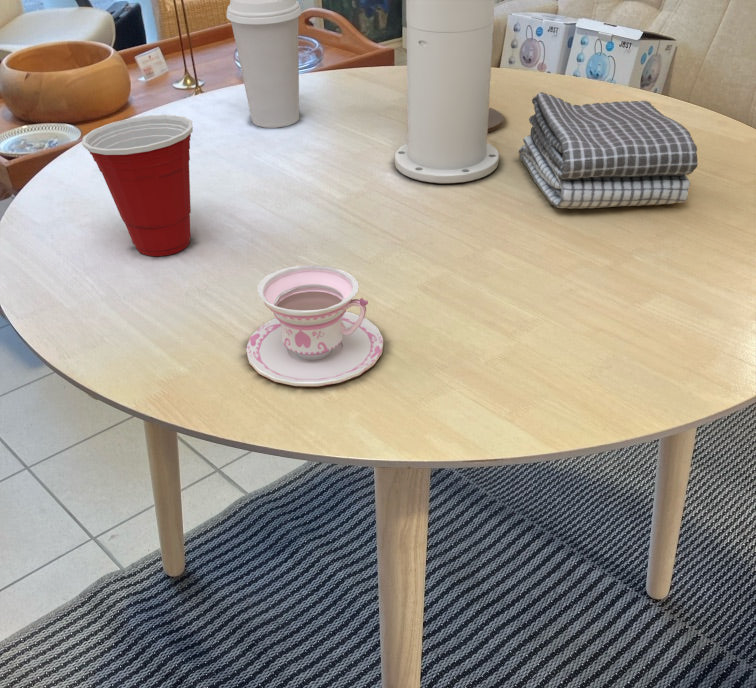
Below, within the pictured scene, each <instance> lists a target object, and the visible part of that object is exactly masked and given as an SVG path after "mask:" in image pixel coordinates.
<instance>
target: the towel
mask: <svg viewBox="0 0 756 688" xmlns="http://www.w3.org/2000/svg"><path fill="white" fill-rule="evenodd" d="M531 103H532V104H533V106H534V107H533V108H534V109H533V110H534V114H533V115H531V116H529V118H528V121H529V124H530V125H531V128H530V134H529V135H527V136H525V137H524V138H523V139H522V141H523V143H524V144H523V145H522V146H521V147H520V148H519V149H518V155H519V160H520V162H522V164H523V165H524V166H525V168H526V169H527V170H528V172H529V174H530V176H531V177H532V179H533V181H534V183H535V184H536V186H538V188H539V190H540V191H541V192H542V195H544V197H545V198H546V199H547V201H548V202H549V204H550V205H552V206H553V207H555V208H557V209H595V208H596V209H600V208H612V207H634V206H635V207H640V206H653V205H654V206H660V205H672V204H673V205H674V204H680V203H686V202H687V201H688V199H689V189H690V185H691V182H690V179H689V178H688V177H687V175H691V174H692V173H694V171H695V170H696V169H697V168H698V164H699V163H698V159H699V158H698V153H697V151H698V148H697V145H696V143H695V140H694V139H693V137H692V135H691V133H690V131H689V130H688V129H687V128H686V127H685V126H684V125H682V124H681V123H680V122H678V121H676V119H673V118H670V117H668V116H666V115H664V114H663V113H661V112H660V111H659V110H658V109H657V108H655V107H654V105H652V103H651V102H649V101H648V100H640V101H639V100H631V101H628V100H627V101H626V100H625V101H624V100H622V101H612V102H607V101H606V102H601V103H600V102H595V103H594V102H593V103H586V104H581V105H579V104H571V103H570V102H567V101H564V99H562V98H560V97H555V96H554V95H552V94H547V93H545V92H542V91H540V92H538V93H537V94H536V95H535V96H534V97H533V98H532V99H531Z"/></svg>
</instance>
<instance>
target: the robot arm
mask: <svg viewBox="0 0 756 688" xmlns="http://www.w3.org/2000/svg"><path fill="white" fill-rule="evenodd" d="M405 15H406V16H405V19H406V20H405V22H406V114H407V115H406V117H407V118H406V122H407V123H406V124H407V125H406V127H407V130H406V131H407V133H406V134H407V139H406V140H407V142H406V143H404V144H403V145H401V146H400V147H398V149H397V150H396V151H395V154H394V166H395V168H396V169H397V170H398V172H400V173H401V174H402V175H404V176H405V177H408V178H410V179H413V180H416V181H420V182H425V183H431V184H432V183H433V184H458V183H460V184H461V183H467V182H471V181H476V180H479V179H481V178H484V177H486V176H488V175H490V174H491V173H494V171H495V170H496V169H497V168H498V167H499V163H500V153H499V151H498V150H497V148H496V147H495V146H494V145H492V144H491V143H489V142H488V133H487V132H488V114H489V108H490V95H491V79H492V77H491V76H492V61H493V60H492V58H493V57H492V56H493V44H494V43H493V39H494V25H495V24H494V23H495V19H494V18H495V0H405Z"/></svg>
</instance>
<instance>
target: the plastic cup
mask: <svg viewBox="0 0 756 688" xmlns="http://www.w3.org/2000/svg"><path fill="white" fill-rule="evenodd" d="M193 125H194V124H193V120H191V119H190V118H187V117H185V116H182V115H174V114H154V115H153V114H151V115H143V116H137V117H130V118H127V119H122V120H118V121H113V122H110V123H107V124H104V125H102V126H100V127H97V128H94V129H92V130H91V131H89V132H88V133H86V134H85V135H83V137H82V140H81V145H82V146H83V148H84V149H86V150H87V151H88V153H89V154H90V155H91V156H92V158H93V161H94V162H95V163H96V166H97V168H98V169H99V172H100V173H101V174H102V177H103V179H104V181H105V183H106V186H107V188H108V190H109V192H110V195H111V197H112V199H113V202H114V205H115V206H116V208H117V211H118V214H119V215H120V217H121V220H122V221H123V223H124V225H125V227H126V230H127V232H128V235H129V237H130V239H131V242H132V244H133V245H134V247H135V249H136V250H137V251H138V252H139V253H140V254H142V255H145V256H148V257H164V256H171V255H174V254H178V253H180V252H181V251H183V250H185V249H186V248H187V247H188V246H189V245H190V243H191V239H190V238H191V213H192V212H191V210H192V209H191V182H190V180H191V179H190V160H191V158H190V157H191V155H190V150H191V142H190V141H191V136H192V134H193V130H194V129H193V128H194V126H193Z"/></svg>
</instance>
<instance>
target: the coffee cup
mask: <svg viewBox="0 0 756 688" xmlns="http://www.w3.org/2000/svg"><path fill="white" fill-rule="evenodd" d="M302 14H303V11H302V8H301V5H300V3H299V1H298V0H230V1H229V4H228V6H227V10H226V17H225V18H226V19H227V20H228V21H229V22H230V23H231V28H232V32H233V37H234V42H235V46H236V52H237V56H238V61H239V65H240V70H241V71H240V72H241V75H242V81H243V85H244V90H245V94H246V99H247V105H248V108H249V114H250V118H251V123H252V124H254V125H255V126H257V127H260V128H265V129H276V128H284V127H288V126H292V125H294V124H296V123H297V122H298V121H299V120H300V60H299V59H300V58H299V55H300V54H299V51H300V50H299V47H300V46H299V44H300V43H299V17H300V16H301V15H302Z"/></svg>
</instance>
